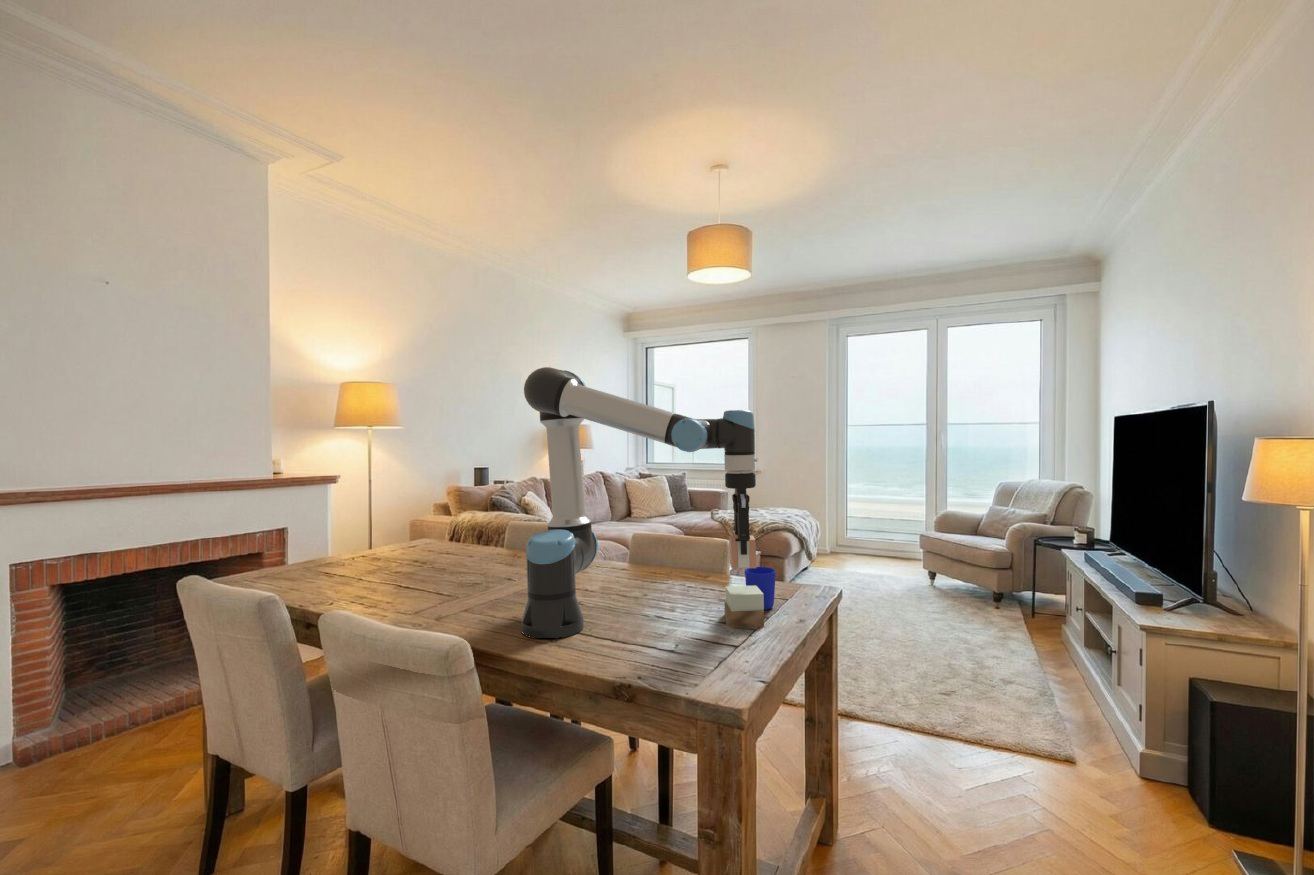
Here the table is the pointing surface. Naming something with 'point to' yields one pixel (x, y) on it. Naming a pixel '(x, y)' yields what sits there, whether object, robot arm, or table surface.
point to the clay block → (734, 552)
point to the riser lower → (743, 618)
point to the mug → (762, 583)
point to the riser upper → (744, 598)
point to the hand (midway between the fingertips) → (742, 564)
